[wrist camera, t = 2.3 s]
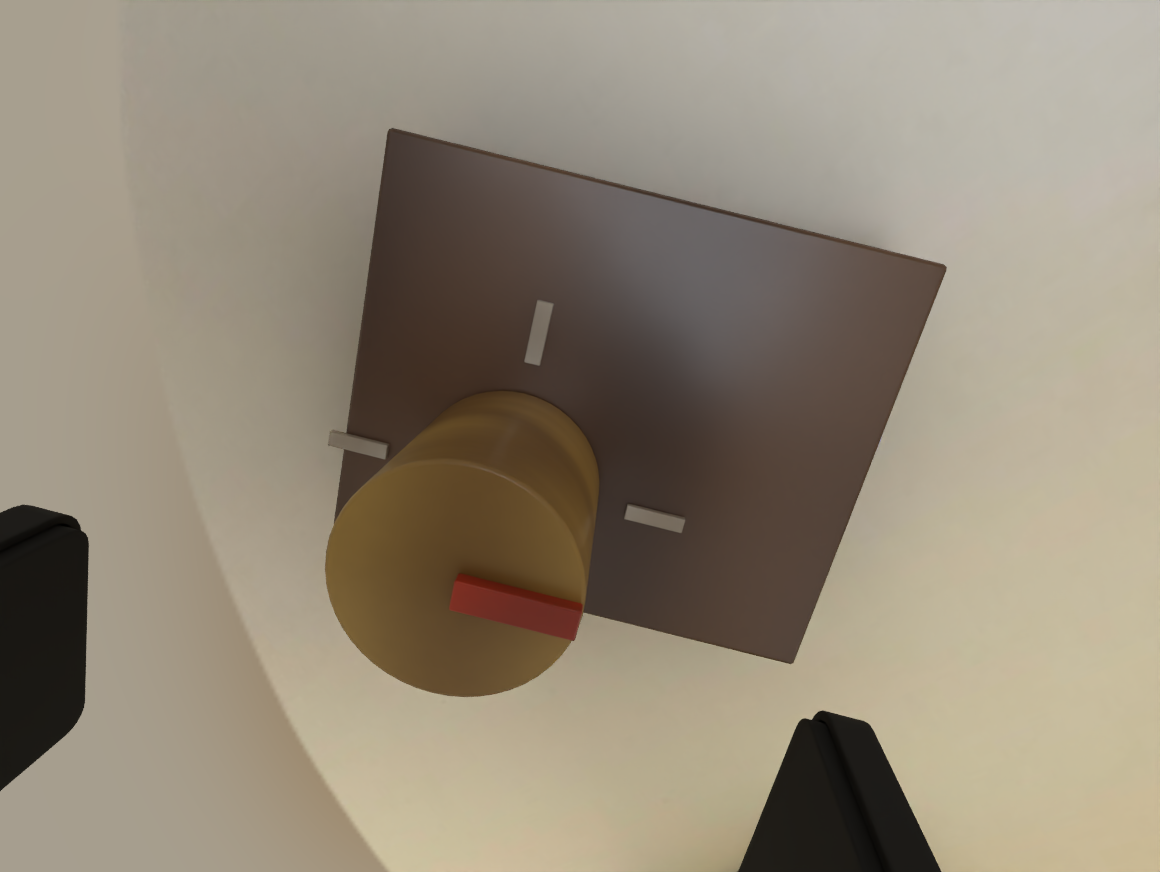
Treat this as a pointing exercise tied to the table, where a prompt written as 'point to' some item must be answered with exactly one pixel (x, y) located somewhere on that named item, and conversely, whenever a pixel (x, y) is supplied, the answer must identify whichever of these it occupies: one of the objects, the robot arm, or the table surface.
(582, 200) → the panel
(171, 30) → the table surface
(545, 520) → the knob
